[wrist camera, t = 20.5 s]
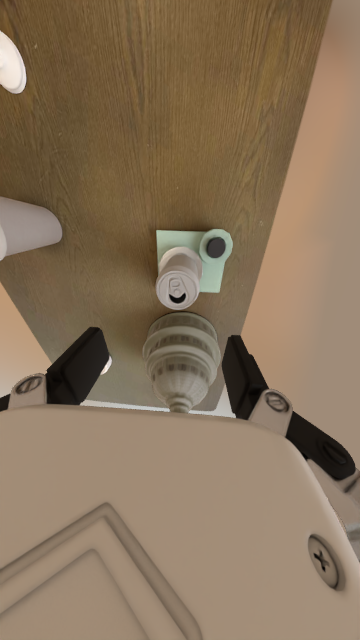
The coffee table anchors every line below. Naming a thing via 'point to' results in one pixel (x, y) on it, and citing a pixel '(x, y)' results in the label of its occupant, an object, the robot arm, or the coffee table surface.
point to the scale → (198, 252)
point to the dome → (181, 359)
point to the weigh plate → (182, 251)
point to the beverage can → (178, 283)
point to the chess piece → (11, 66)
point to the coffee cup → (26, 227)
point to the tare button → (216, 247)
